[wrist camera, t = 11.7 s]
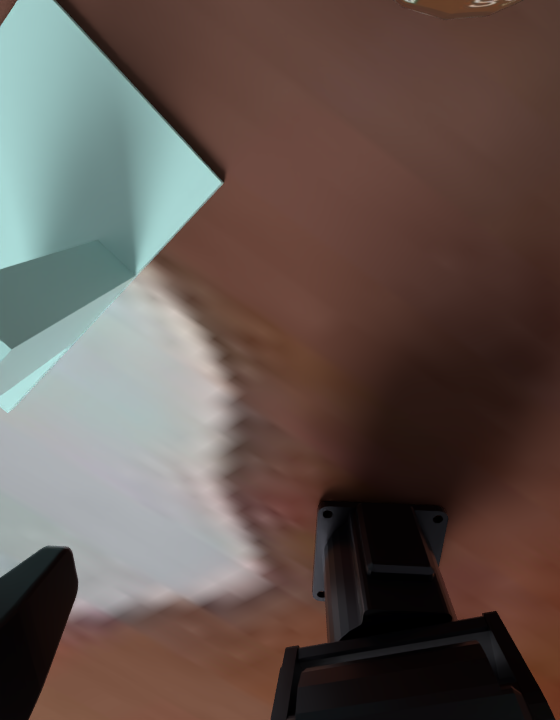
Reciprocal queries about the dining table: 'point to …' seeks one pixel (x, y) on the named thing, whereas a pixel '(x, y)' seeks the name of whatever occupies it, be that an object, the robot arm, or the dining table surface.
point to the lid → (76, 188)
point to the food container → (456, 7)
